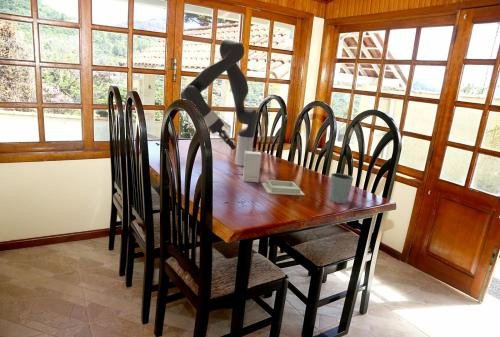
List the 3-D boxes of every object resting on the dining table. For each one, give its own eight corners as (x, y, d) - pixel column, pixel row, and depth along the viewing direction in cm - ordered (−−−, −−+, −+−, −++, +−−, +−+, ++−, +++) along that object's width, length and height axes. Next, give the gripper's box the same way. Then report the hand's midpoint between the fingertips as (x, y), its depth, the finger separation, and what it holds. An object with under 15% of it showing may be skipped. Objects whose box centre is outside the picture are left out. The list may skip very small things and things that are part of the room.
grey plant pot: (338, 205, 158) (343, 179, 155) (322, 197, 166) (326, 173, 163) (352, 202, 164) (357, 178, 161) (336, 195, 172) (340, 172, 169)
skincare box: (257, 179, 183) (261, 151, 179) (258, 183, 177) (262, 154, 173) (241, 177, 182) (245, 150, 179) (241, 181, 176) (245, 152, 173)
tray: (261, 184, 176) (262, 179, 175) (295, 186, 179) (296, 181, 179) (267, 193, 163) (268, 188, 162) (304, 195, 166) (305, 190, 165)
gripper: (219, 118, 161) (241, 145, 167) (217, 114, 175) (237, 139, 180) (207, 129, 162) (229, 155, 167) (205, 124, 175) (226, 148, 180)
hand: (233, 146), depth 173 cm, fingers open, 8 cm apart
